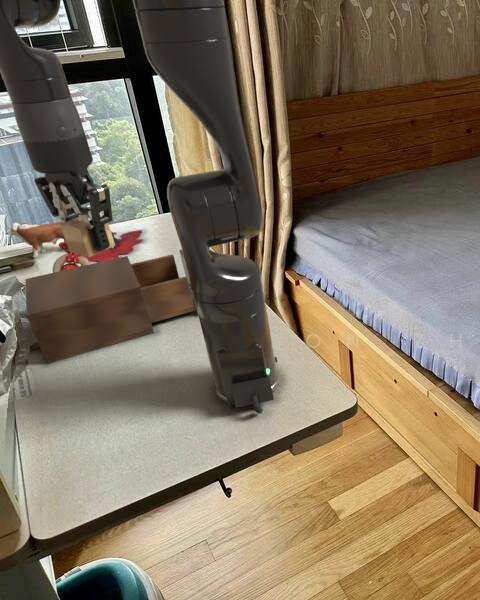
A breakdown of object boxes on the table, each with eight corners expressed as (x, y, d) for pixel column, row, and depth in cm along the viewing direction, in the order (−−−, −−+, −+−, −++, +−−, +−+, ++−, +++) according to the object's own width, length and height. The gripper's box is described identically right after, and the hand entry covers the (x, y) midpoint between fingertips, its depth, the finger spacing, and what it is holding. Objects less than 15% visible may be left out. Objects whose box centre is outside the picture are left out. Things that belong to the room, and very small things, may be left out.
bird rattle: (75, 306, 110) (115, 281, 111) (32, 265, 104) (74, 239, 105) (77, 292, 115) (115, 269, 116) (36, 253, 109) (76, 228, 110)
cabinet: (140, 298, 108) (127, 255, 103) (154, 332, 97) (140, 286, 92) (43, 323, 101) (25, 278, 96) (47, 363, 90) (26, 315, 85)
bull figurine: (20, 253, 128) (7, 221, 124) (82, 245, 131) (71, 213, 127) (14, 261, 125) (1, 228, 120) (79, 252, 128) (67, 220, 124)
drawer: (223, 273, 115) (217, 241, 111) (243, 300, 105) (237, 265, 101) (110, 303, 105) (99, 268, 101) (120, 335, 95) (108, 298, 91)
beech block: (89, 257, 81) (79, 228, 79) (69, 252, 83) (59, 223, 81) (115, 245, 84) (107, 218, 82) (96, 240, 86) (87, 213, 84)
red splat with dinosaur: (146, 268, 127) (143, 251, 124) (76, 277, 121) (70, 259, 119) (142, 231, 140) (138, 215, 137) (78, 238, 134) (73, 221, 131)
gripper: (111, 131, 75) (143, 245, 83) (47, 123, 81) (83, 229, 89) (60, 144, 69) (100, 265, 78) (-5, 134, 75) (39, 247, 83)
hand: (91, 245), depth 83 cm, fingers closed on beech block, 4 cm apart
